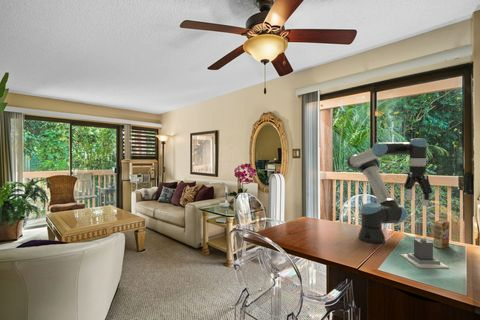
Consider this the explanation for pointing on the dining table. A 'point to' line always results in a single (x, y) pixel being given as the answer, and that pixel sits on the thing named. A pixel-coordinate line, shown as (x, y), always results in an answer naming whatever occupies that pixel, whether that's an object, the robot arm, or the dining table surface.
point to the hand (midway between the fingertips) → (416, 202)
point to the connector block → (423, 249)
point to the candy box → (441, 233)
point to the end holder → (424, 262)
